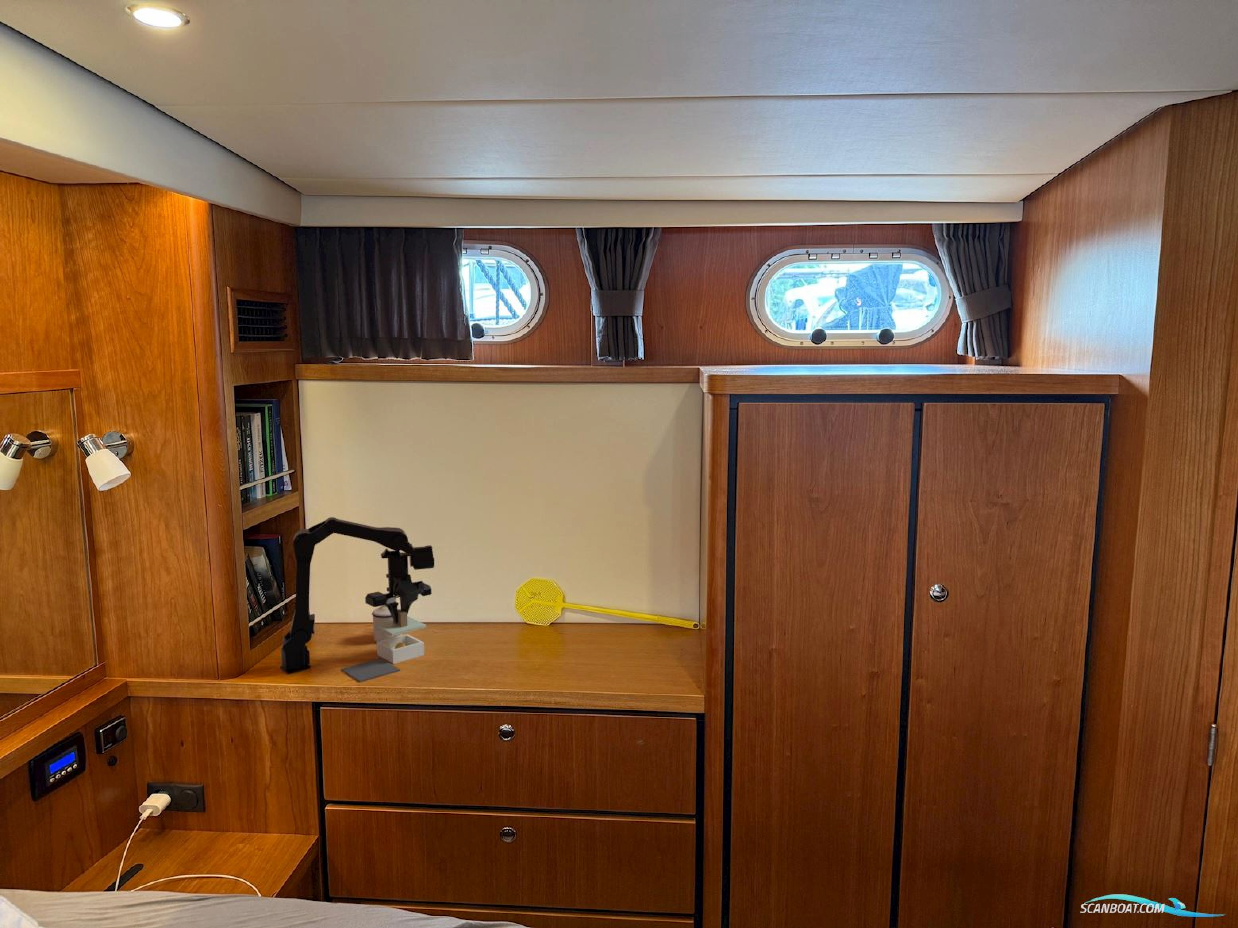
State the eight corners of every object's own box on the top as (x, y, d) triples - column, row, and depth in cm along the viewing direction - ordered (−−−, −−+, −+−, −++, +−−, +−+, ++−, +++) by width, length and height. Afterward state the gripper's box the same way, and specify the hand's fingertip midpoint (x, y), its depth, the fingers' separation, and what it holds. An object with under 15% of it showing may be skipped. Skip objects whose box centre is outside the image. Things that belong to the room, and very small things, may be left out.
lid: (392, 636, 226) (391, 620, 225) (374, 626, 233) (373, 611, 233) (426, 627, 233) (425, 611, 232) (407, 618, 241) (407, 603, 240)
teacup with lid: (399, 643, 244) (398, 606, 243) (369, 643, 244) (368, 607, 242) (407, 630, 256) (406, 595, 255) (379, 630, 256) (378, 595, 254)
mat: (359, 682, 214) (359, 680, 214) (341, 669, 223) (340, 668, 223) (400, 670, 222) (400, 669, 222) (380, 659, 231) (380, 657, 231)
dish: (393, 663, 227) (392, 650, 227) (377, 654, 234) (376, 641, 234) (424, 655, 234) (423, 642, 234) (407, 646, 241) (407, 633, 241)
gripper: (381, 582, 219) (383, 636, 221) (440, 570, 232) (441, 621, 234) (363, 574, 227) (365, 626, 229) (421, 563, 240) (422, 613, 242)
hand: (400, 622), depth 233 cm, fingers closed on lid
